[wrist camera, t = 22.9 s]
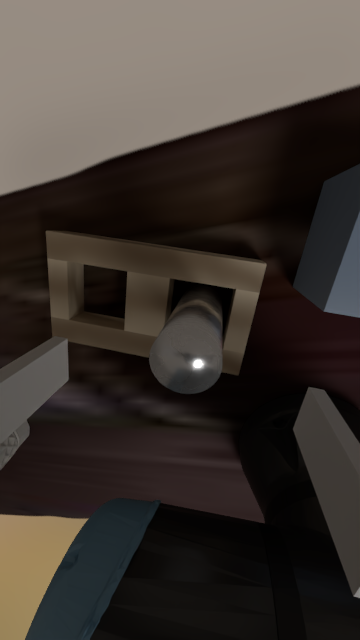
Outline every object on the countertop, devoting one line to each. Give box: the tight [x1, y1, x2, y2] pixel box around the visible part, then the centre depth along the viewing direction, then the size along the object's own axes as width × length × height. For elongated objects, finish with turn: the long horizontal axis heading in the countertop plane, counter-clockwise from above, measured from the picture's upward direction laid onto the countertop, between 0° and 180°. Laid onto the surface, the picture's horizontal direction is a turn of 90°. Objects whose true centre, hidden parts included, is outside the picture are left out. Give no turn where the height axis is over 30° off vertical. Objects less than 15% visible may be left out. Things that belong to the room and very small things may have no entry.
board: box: [46, 231, 267, 375], centre depth 25 cm, size 11×20×3 cm, turn 82°
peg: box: [149, 285, 222, 394], centre depth 20 cm, size 4×4×12 cm
